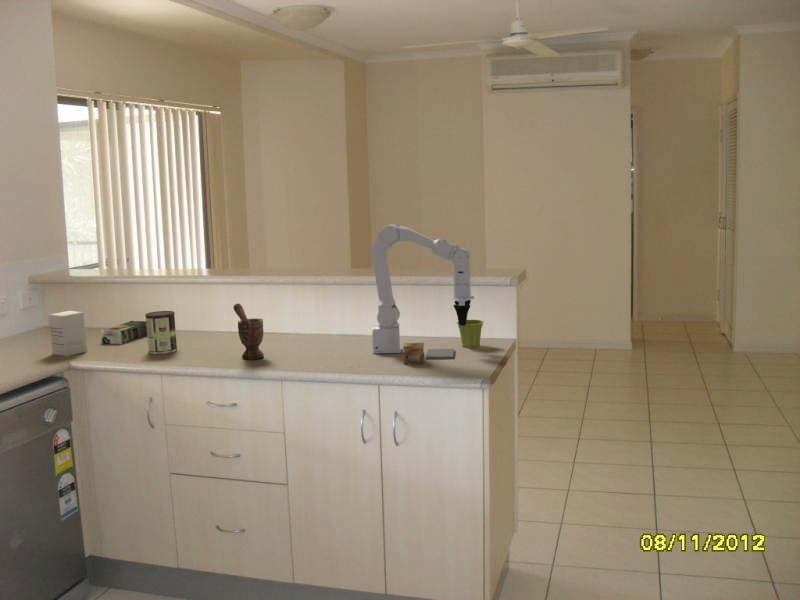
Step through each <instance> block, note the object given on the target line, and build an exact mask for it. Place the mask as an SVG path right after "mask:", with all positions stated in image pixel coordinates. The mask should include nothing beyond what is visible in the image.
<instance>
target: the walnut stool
mask: <svg viewBox="0 0 800 600" xmlns="http://www.w3.org/2000/svg"><path fill="white" fill-rule="evenodd" d="M424 347H425V342H405V343H404V344H403V345H402V350H403V364H404V365H408V364H409V363H408V362H409V357H415V356H416V357H417V356H418V357H419V365H424V363H425V352H424Z"/></svg>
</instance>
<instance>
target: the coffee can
mask: <svg viewBox="0 0 800 600" xmlns="http://www.w3.org/2000/svg"><path fill="white" fill-rule="evenodd" d="M175 314H176V313H175V311H173V310H159V311H150V312H147V313H145V315H144V316H145V321H146V325H147V336H146V337H147V344H148V345H147V346H148V353H149V354H152V355H153V354H154V355H165V354H171V353H174V352H176V351H178V345H177V333H176V319H175Z"/></svg>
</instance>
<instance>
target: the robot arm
mask: <svg viewBox="0 0 800 600" xmlns="http://www.w3.org/2000/svg"><path fill="white" fill-rule="evenodd" d="M405 241H406V242H407V241H408V242H409V241H410V242H412V243H415V244H417V245H420V246H423V247H425V248H427V249H430V251H431V252H432V255H434V256H436V257H439V258H442V259H444V260H446V261H449V262H452V263H453V272H452V274H453V275H452V276H453V278H452V279H453V296H452V297H453V298H452V299H453V301H454V304H453V308H454V310H455V312H456V315H457V320H458V321H457V322H459V325H466V321H467V320H468V313H469V310H470V308H471V302H472V300H474V299H475V296H474V295H471V294H472V293H471V265H470V260H471V252H470V251H469V250H468V249H467V248H466V247H463V246H462V247H460V245H459V244H453V243H451V242H449V241H447V238H444V237H443V238H437V239H435V240H434V239H433V238H431V237H428V236H426V235H424V234H423V233H420V232H418V231H415V230H414V229H412V228H409V227H406V226H403V225H399V224H397V223H391V224H389V225H385V226H383V227H382V228H381V229H380V230H379V231H378V232H377V235H376V237H375V239H374V242H373V244H372V247H371V256H372V263H373V270H374V276H375V284H376V289H377V295H378V306H377V307H378V312H377V313H378V314H377V315H376V316H377V317H376V320H377V323H378V326H373V327H372V335H371V336H372V354H400V353H401V352H402V350H403V346H401V339H400V336H401V335H400V334H401V333H400V323H399V322H398V320H399V318H400V315H401V312H400V310H399V308H398V306H397V304H396V300H395V299H394V295H393V288H392V281H391V276H390V275H391V274H390V269H389V268H390V267H389V261H388V255H387V253H388V251H389V250H390V249H391V248H392V247H393V245H394V244H396V243H397V242H405Z"/></svg>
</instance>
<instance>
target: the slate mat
mask: <svg viewBox="0 0 800 600" xmlns="http://www.w3.org/2000/svg"><path fill="white" fill-rule="evenodd" d="M454 355H455V348H428V349H427V352H426V356H425V360H440V359H441V360H450V359H451V360H452V359H454Z"/></svg>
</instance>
